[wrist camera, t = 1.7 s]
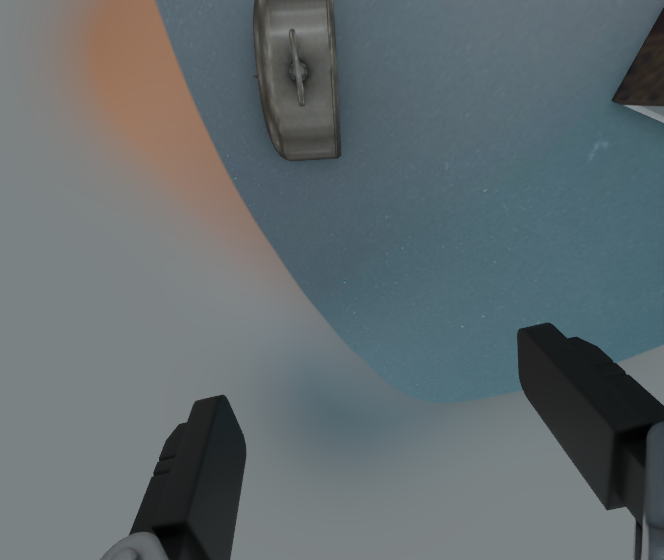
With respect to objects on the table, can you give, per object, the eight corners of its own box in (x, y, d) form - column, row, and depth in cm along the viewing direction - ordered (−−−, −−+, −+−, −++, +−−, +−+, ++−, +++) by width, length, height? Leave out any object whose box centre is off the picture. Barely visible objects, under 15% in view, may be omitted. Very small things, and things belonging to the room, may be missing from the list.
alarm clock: (338, 146, 35) (360, 183, 21) (276, 150, 35) (252, 191, 21) (331, -6, 31) (350, -98, 16) (258, -2, 31) (212, -89, 16)
